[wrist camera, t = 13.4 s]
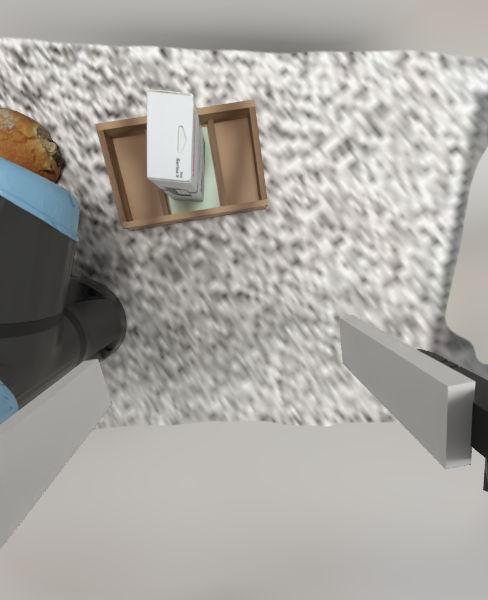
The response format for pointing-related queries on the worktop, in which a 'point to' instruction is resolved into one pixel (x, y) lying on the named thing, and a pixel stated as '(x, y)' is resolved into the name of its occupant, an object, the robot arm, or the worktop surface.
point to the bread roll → (28, 145)
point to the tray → (217, 175)
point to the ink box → (175, 145)
